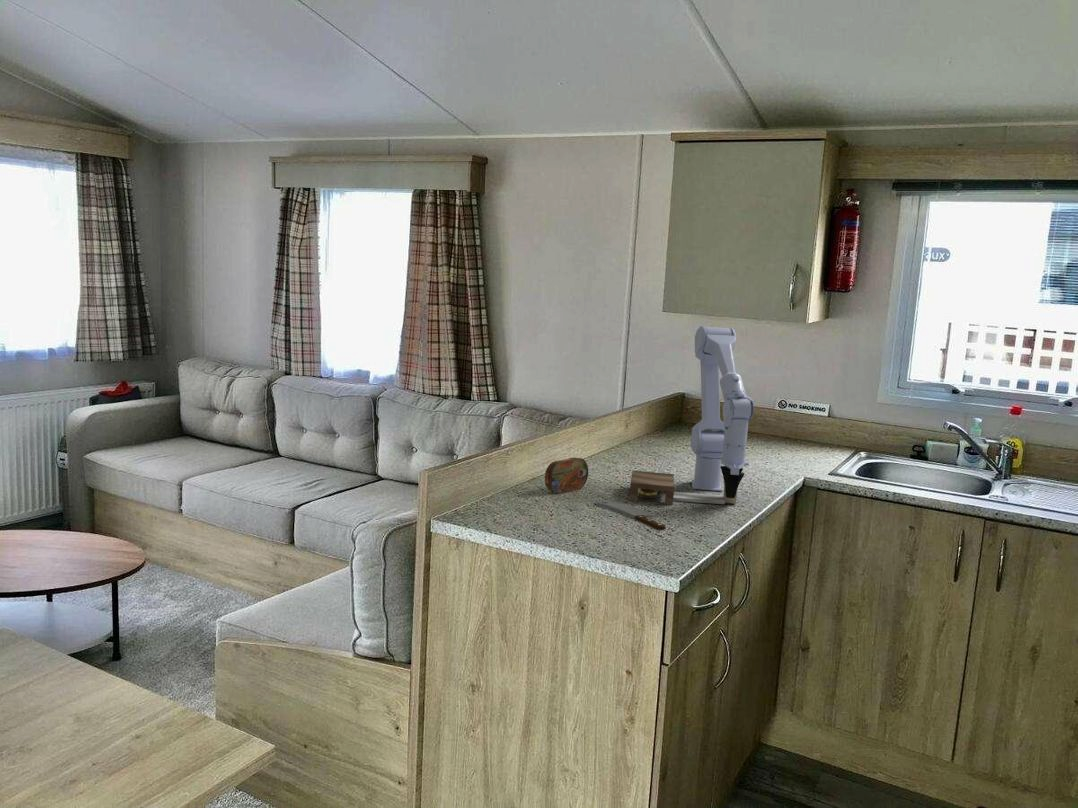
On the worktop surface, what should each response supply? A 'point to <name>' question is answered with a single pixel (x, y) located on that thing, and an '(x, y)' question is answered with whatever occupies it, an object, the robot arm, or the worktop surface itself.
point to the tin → (566, 475)
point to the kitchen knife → (632, 512)
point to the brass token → (647, 493)
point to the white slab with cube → (703, 498)
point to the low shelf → (652, 484)
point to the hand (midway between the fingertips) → (729, 495)
